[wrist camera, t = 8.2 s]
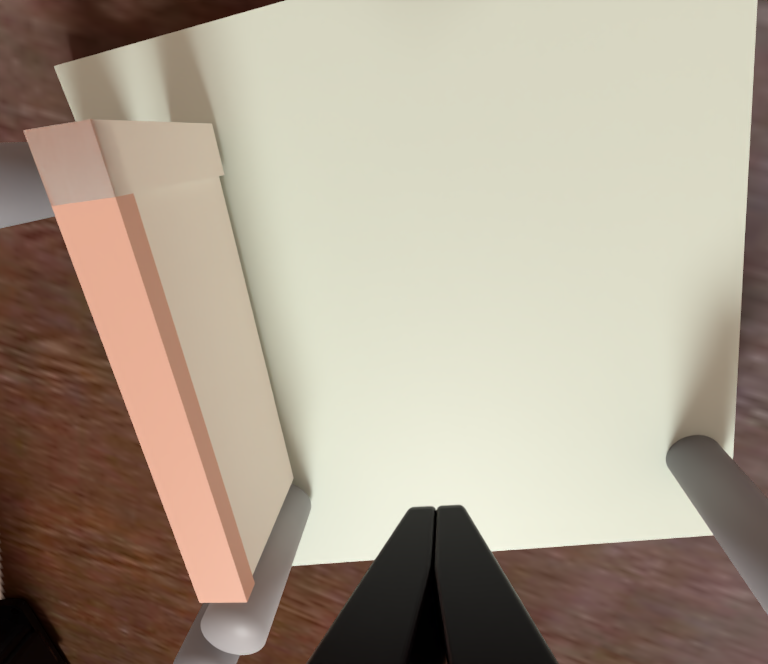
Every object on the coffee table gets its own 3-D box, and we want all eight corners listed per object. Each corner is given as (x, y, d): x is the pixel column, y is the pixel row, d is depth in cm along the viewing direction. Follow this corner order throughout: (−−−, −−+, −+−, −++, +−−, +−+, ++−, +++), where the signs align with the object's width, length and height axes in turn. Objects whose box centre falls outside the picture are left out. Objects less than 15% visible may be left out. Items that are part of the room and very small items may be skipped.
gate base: (258, 552, 25) (187, 715, 18) (72, 70, 17) (-179, 28, 10) (716, 516, 21) (851, 704, 14) (742, -118, 13) (1064, -382, 6)
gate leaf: (315, 522, 22) (272, 655, 16) (268, 523, 22) (210, 654, 17) (220, 122, 16) (102, 116, 10) (158, 132, 16) (10, 132, 11)
